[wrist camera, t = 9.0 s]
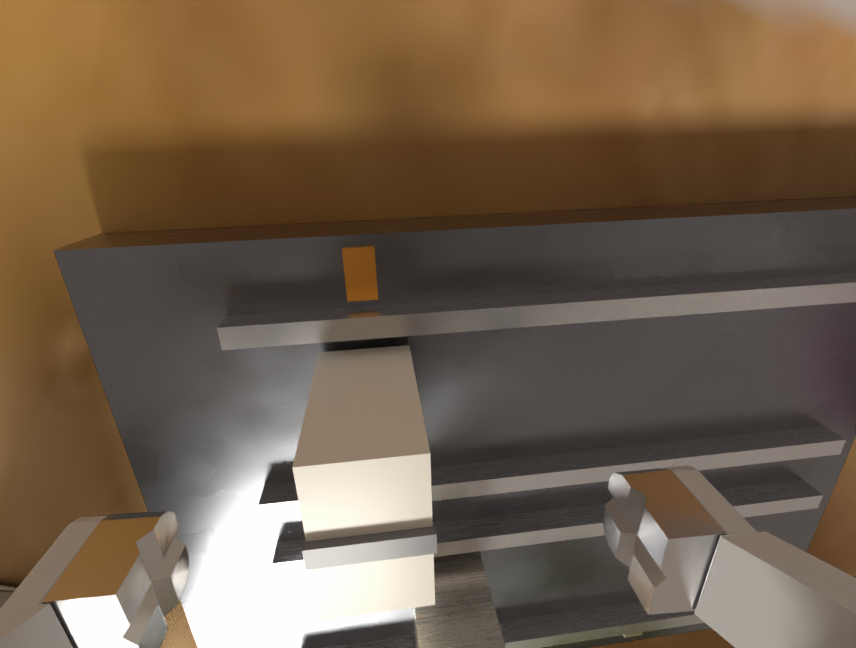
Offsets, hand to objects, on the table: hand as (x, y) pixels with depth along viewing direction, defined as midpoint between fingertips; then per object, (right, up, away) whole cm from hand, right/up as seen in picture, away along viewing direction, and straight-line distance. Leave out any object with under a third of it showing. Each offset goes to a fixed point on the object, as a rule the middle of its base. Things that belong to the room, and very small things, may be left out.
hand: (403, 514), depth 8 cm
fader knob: (-1, +1, +4) cm, 5 cm away
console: (+4, -1, +8) cm, 9 cm away
